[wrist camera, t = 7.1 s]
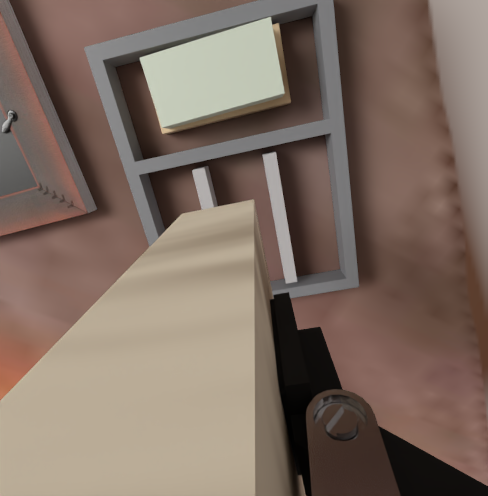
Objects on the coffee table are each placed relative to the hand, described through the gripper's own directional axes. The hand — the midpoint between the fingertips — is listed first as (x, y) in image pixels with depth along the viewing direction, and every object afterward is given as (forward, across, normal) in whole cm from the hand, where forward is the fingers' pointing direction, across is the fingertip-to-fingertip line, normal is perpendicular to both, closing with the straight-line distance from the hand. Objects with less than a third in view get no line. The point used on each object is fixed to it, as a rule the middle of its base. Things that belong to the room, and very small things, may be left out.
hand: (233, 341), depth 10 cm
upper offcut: (+16, 0, -11) cm, 19 cm away
